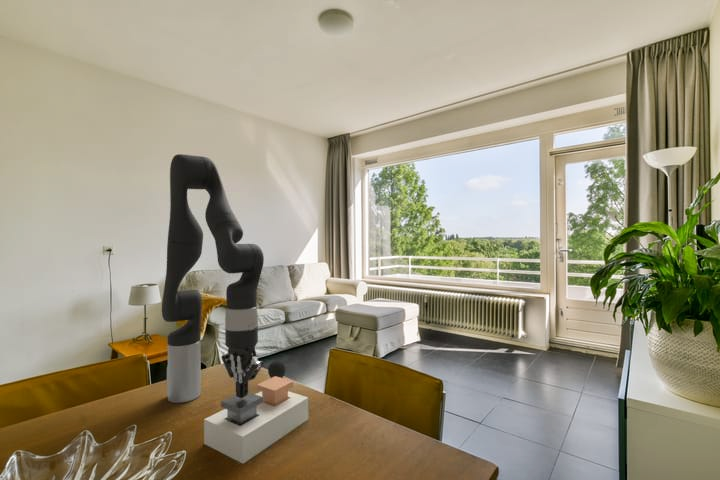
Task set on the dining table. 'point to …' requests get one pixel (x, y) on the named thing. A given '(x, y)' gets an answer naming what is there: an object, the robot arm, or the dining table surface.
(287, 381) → the terracotta plunger
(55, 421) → the dining table surface
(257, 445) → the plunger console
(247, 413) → the graphite plunger
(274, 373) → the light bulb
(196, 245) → the robot arm
